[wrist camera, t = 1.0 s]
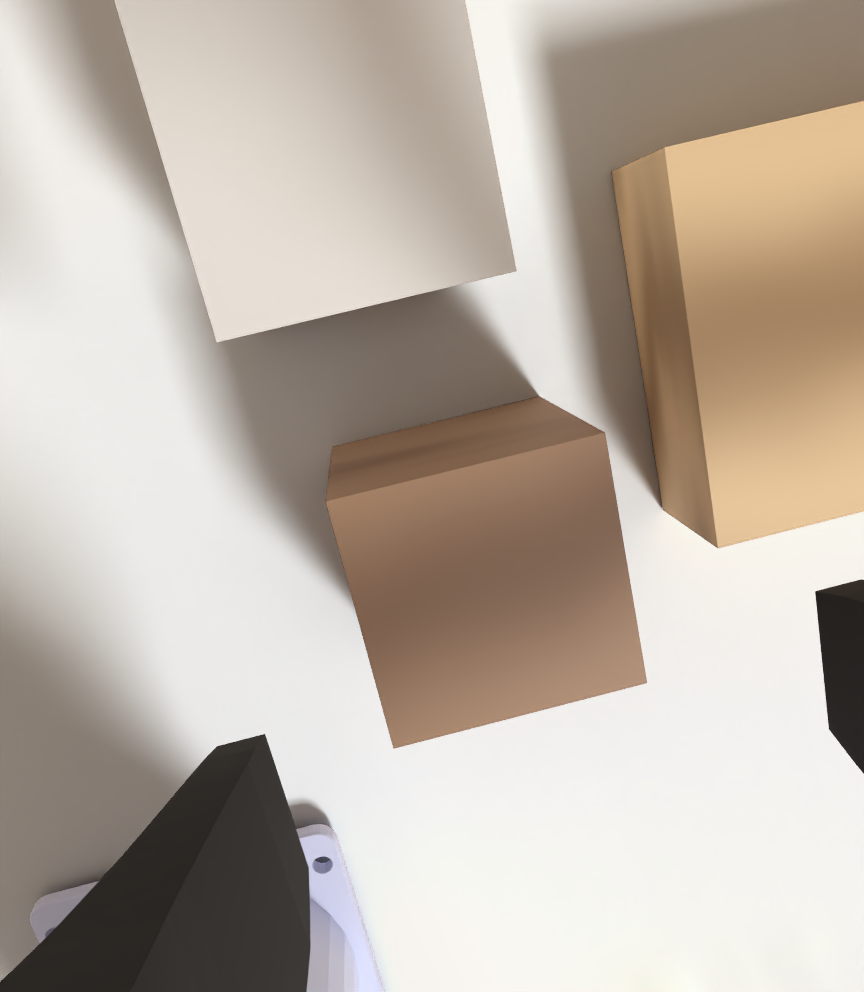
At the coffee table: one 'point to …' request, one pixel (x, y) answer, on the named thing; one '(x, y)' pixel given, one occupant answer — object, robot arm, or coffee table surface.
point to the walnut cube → (485, 567)
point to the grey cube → (320, 151)
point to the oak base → (752, 321)
